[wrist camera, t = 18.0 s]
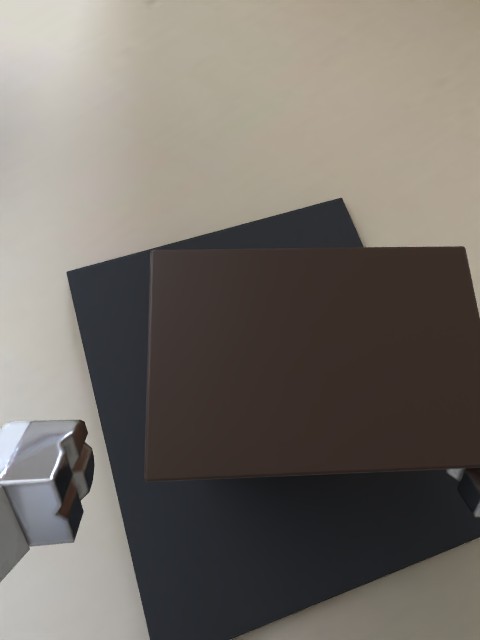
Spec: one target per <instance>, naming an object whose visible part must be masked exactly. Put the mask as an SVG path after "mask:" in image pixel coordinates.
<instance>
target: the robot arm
mask: <svg viewBox="0 0 480 640" xmlns="http://www.w3.org/2000/svg"><path fill="white" fill-rule="evenodd" d="M87 434H88V431H87V428H86V425H85V422H84V421H82V420H50V421H32V422H8V423H7V424H5V425H4V426H3V427H2V428H1V430H0V582H1V581H2V580H3V579H4V577H5V576H6V575H7V574H8V573H9V572H10V571H11V570H12V569H13V567H14V566H15V565H16V564H17V563H18V562H19V561H20V560H21V558H22V557H23V556H24V555H25V554H26V553H27V552H28V551H29V550H30V548H29V546H40V545H51V544H62V543H73V542H74V540H75V537H76V534H77V531H78V528H79V524H80V521H81V518H82V515H83V508H82V505H81V500H82V499H83V498H84V497H85V496H86V495H87V494H88V493H89V492H90V488H91V485H92V481H93V474H94V455H93V451H92V448H91V447H90V446H89V445H88V444H86V443H85V440H86V437H87ZM444 470H445V471H446V473H448V474H449V475H451V476H452V477H453V478H455V479H456V480H458V486H457V491H458V492H459V494H460V495H461V497H462V498H463V500H464V501H465V503H466V505H467V506H468V508H469V509H470V511H471V512H472V514H473V515H474V517H480V468H462V469H444Z"/></svg>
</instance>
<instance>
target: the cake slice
mask: <svg viewBox="0 0 480 640" xmlns="http://www.w3.org/2000/svg"><path fill="white" fill-rule="evenodd" d="M462 468H480V318H479V313H478V308H477V303H476V298H475V293H474V288H473V283H472V278H471V274H470V269H469V264H468V259H467V254H466V249H465V247H463V246H459V247H368V248H277V249H186V250H152V251H151V253H150V290H149V326H148V362H147V398H146V434H145V470H144V478H145V481H147V482H163V481H186V480H209V479H232V478H255V477H278V476H301V475H324V474H347V473H370V472H393V471H416V470H439V469H462Z"/></svg>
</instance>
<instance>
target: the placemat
mask: <svg viewBox="0 0 480 640" xmlns="http://www.w3.org/2000/svg"><path fill="white" fill-rule="evenodd" d="M277 248H364V247H363V245H362V243H361V240H360V238H359V236H358V233H357V231H356V229H355V227H354V224H353V222H352V220H351V218H350V215H349V213H348V211H347V208H346V206H345V204H344V202H343V199H342V198H339V199H335V200H331V201H328V202H324V203H320V204H316V205H313V206H309V207H305V208H302V209H298V210H294V211H290V212H287V213H283V214H279V215H276V216H272V217H268V218H264V219H261V220H257V221H253V222H250V223H246V224H242V225H239V226H235V227H231V228H227V229H224V230H220V231H216V232H213V233H209V234H205V235H201V236H198V237H194V238H190V239H187V240H183V241H179V242H175V243H172V244H168V245H164V246H161V247H157V248H153V249H149V250H146V251H142V252H138V253H135V254H131V255H127V256H124V257H120V258H116V259H112V260H109V261H105V262H101V263H98V264H94V265H90V266H86V267H83V268H79V269H75V270H72V271H68V272H67V277H68V281H69V286H70V290H71V294H72V299H73V303H74V307H75V312H76V316H77V321H78V325H79V329H80V334H81V338H82V343H83V347H84V351H85V356H86V360H87V364H88V369H89V373H90V378H91V382H92V386H93V391H94V395H95V399H96V404H97V408H98V413H99V417H100V421H101V426H102V430H103V434H104V439H105V443H106V448H107V452H108V456H109V461H110V465H111V469H112V474H113V478H114V483H115V487H116V491H117V496H118V500H119V504H120V509H121V513H122V518H123V522H124V526H125V531H126V535H127V539H128V544H129V548H130V553H131V557H132V561H133V566H134V570H135V575H136V579H137V583H138V588H139V592H140V596H141V601H142V605H143V610H144V614H145V618H146V623H147V627H148V631H149V636H150V640H229V639H232V638H234V637H237V636H239V635H242V634H244V633H246V632H249V631H251V630H254V629H256V628H259V627H261V626H264V625H266V624H268V623H271V622H273V621H276V620H278V619H281V618H283V617H286V616H288V615H290V614H293V613H295V612H298V611H300V610H303V609H305V608H308V607H310V606H312V605H315V604H317V603H320V602H322V601H325V600H327V599H330V598H332V597H335V596H337V595H339V594H342V593H344V592H347V591H349V590H352V589H354V588H357V587H359V586H361V585H364V584H366V583H369V582H371V581H374V580H376V579H379V578H381V577H383V576H386V575H388V574H391V573H393V572H396V571H398V570H401V569H403V568H405V567H408V566H410V565H413V564H415V563H418V562H420V561H423V560H425V559H427V558H430V557H432V556H435V555H437V554H440V553H442V552H445V551H447V550H449V549H452V548H454V547H457V546H459V545H462V544H464V543H467V542H469V541H472V540H474V539H476V538H479V537H480V517H474V515H473V514H472V512H471V511H470V509H469V508H468V506H467V505H466V503H465V501H464V500H463V498H462V497H461V495H460V494H459V492H458V491H457V486H458V480H456V479H455V478H453V477H452V476H451V475H449V474H448V473H446V471H445V470H444V469H439V470H416V471H393V472H370V473H347V474H324V475H301V476H278V477H255V478H232V479H209V480H186V481H163V482H147V481H145V478H144V470H145V434H146V398H147V362H148V326H149V290H150V253H151V251H152V250H186V249H277Z"/></svg>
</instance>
